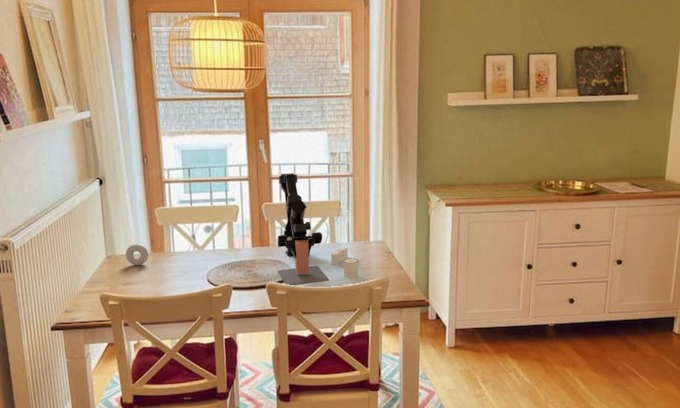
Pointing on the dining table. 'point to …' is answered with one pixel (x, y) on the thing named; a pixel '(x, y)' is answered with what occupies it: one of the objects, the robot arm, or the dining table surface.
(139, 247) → the donut
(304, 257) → the card box
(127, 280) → the dining table surface
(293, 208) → the robot arm
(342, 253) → the napkin holder
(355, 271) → the shot glass
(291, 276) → the mat
